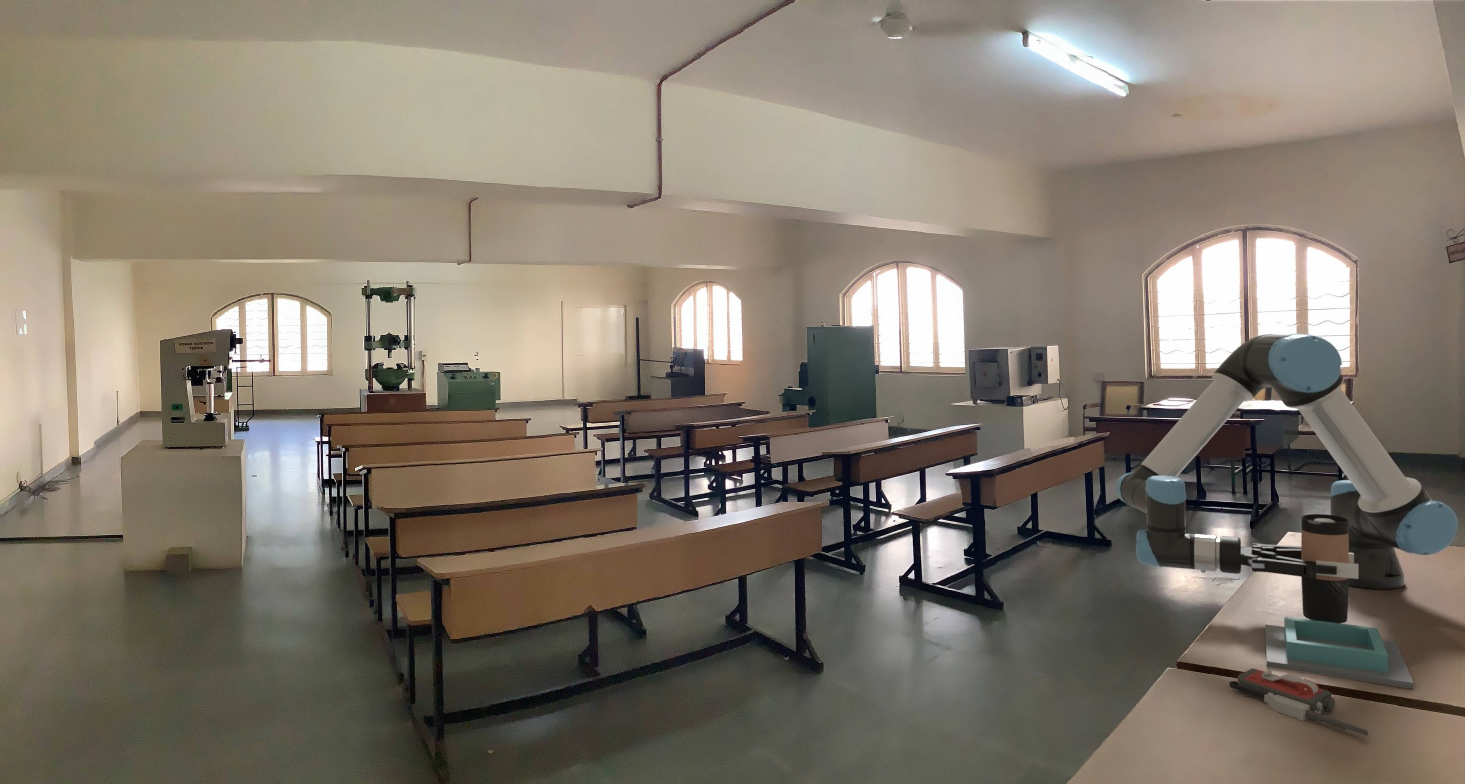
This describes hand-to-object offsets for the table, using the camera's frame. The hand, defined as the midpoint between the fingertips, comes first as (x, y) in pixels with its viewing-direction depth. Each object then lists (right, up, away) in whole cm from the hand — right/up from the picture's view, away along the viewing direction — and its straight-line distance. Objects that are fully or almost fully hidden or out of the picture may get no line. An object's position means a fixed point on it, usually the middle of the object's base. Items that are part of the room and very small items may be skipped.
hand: (1355, 565), depth 158 cm
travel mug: (-3, -11, +3) cm, 12 cm away
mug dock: (-13, -14, -12) cm, 22 cm away
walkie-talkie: (-32, -17, -30) cm, 47 cm away
